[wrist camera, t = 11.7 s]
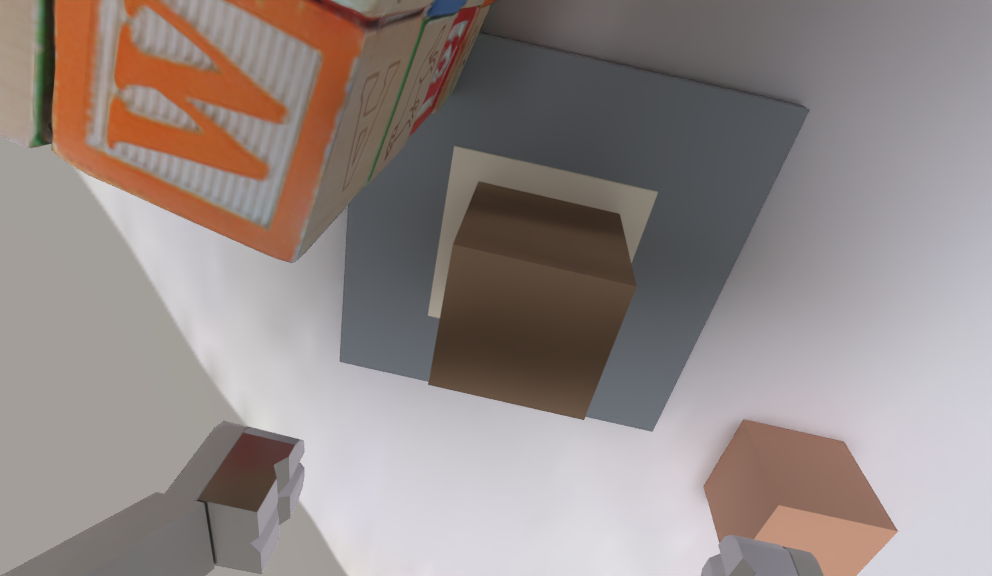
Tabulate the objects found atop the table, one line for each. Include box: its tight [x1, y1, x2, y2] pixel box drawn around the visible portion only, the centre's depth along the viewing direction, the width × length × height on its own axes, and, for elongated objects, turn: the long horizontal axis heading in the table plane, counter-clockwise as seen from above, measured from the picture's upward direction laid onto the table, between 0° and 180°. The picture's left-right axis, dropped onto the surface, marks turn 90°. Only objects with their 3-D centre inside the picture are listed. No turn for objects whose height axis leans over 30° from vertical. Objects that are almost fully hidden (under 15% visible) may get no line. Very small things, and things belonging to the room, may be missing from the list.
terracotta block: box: [704, 420, 898, 576], centre depth 23 cm, size 4×4×4 cm
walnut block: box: [428, 181, 637, 420], centre depth 18 cm, size 5×5×5 cm
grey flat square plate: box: [340, 32, 809, 432], centre depth 20 cm, size 14×14×1 cm
